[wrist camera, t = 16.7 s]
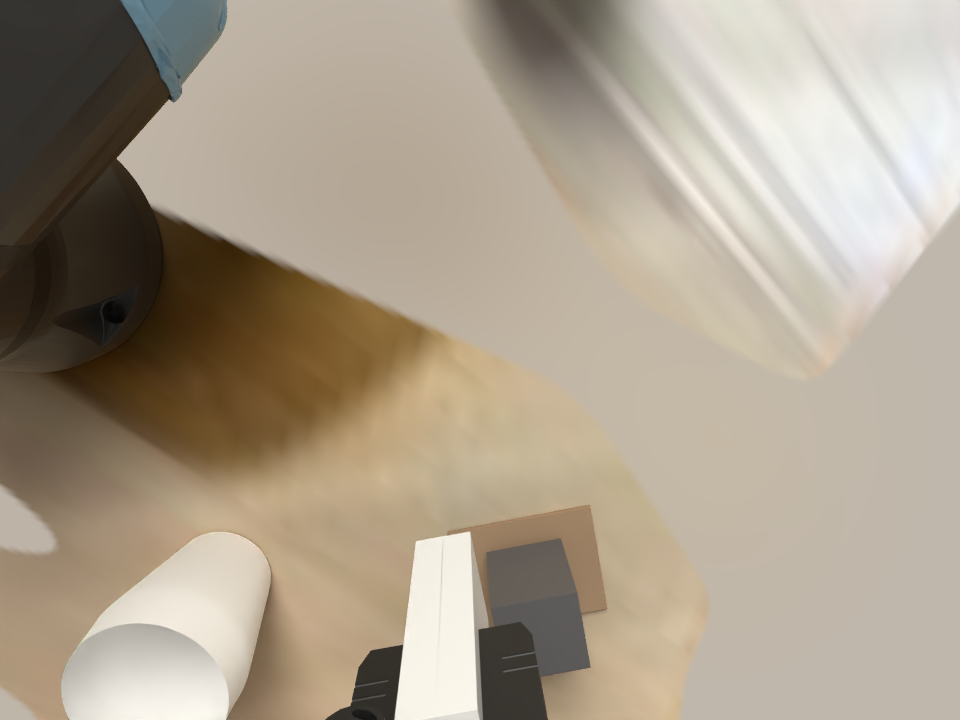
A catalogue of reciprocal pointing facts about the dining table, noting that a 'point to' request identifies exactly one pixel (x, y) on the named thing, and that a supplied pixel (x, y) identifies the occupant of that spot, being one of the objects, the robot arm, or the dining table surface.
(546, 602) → the charcoal cuboid
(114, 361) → the dining table surface
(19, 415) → the dining table surface
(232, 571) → the cup
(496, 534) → the teal post on base
